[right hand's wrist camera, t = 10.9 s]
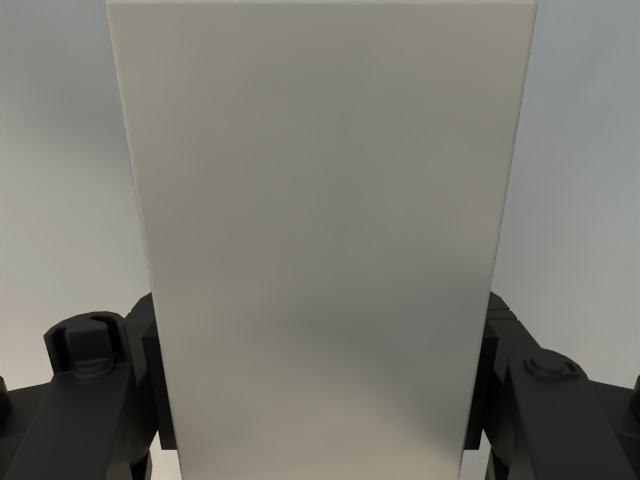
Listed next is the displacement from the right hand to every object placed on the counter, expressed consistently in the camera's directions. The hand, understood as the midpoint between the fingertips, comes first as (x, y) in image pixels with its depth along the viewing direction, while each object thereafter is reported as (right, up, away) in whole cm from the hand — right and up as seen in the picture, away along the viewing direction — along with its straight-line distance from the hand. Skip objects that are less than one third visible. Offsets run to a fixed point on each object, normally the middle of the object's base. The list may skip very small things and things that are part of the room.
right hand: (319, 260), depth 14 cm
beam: (0, -29, +12) cm, 31 cm away
